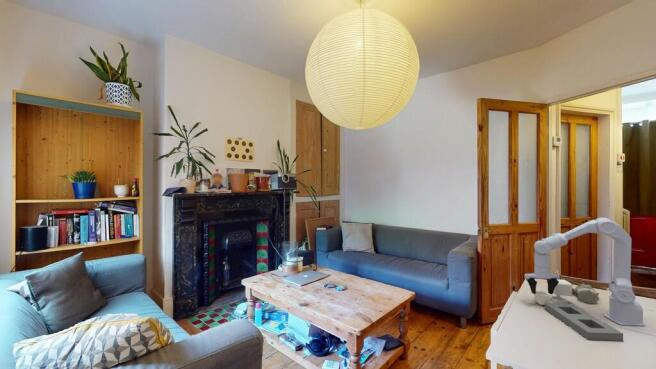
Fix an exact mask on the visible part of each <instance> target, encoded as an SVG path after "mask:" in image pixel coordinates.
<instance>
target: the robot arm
mask: <svg viewBox="0 0 656 369" xmlns="http://www.w3.org/2000/svg"><path fill="white" fill-rule="evenodd" d="M599 232H600V233H601V234H603V235H606V236H608V237H609V238H611V239H613V241H614V242H613V274H612V277H611V282H610V283H609V284H608V290H609V291H610V293H611V294H610V295H609V296H608V297H609V298H608V300H609V301H608V303H609V306H608V308H609V311H608V312H609V313H608V314H605V313H604V314H603V316H604V317H606V318H607V319H609V320H611V321H613V322H614V323H616V324H618V325H620V326H639V327H640V326H644V327H645V326H646V323H645V324H644V309H643V307H642V305H641V304H640V302H639V301H637V300H636V295H635V293H634V291H633V285H632V282H631V271H632V270H631V265H632V237H631V236H630V235H629V234H628V232H626V230H625V229H624V227H622V225H621V224H618V223H617V222H615V221H614V220H612V219H610V218H609V217H606V216H605V217H604V216H603V217H601V216H600V217H598V218H596V219H592V220H588V221H587V222H585V223H583V224H581V225H578V226H576V227H575V228H572V229H571V230H568V231H566V232H564V233H560V232H557V233H555V232H554V233H552V234H551V236H548V237H546V238H541V240H537V241H535V242H534V245H533V247H534V258H533V259H534V260H533V261H534V266H533V267H534V272H531V273H525V274H524V279H525V280H526V282H527V284H528V285H529V289H530V292H531V294H533V295H534V294H536V291H537V285H538V281H536V279H537V280H546V283H547V294H549V295H554V293H553V291H554V289H555V287H556V286H557V284H558V283H559V281H558V280H559V279H560V275H558V274H556V273H555V274H554V273H550V256H549V253H550V252H551V251H553V250H556V249H559V248H561V247H563V246H566V245H567V244H568V242H569V240H572V239H575V238H577V237H580V236H582V235H585V234H588V233H589V234H599Z"/></svg>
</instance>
